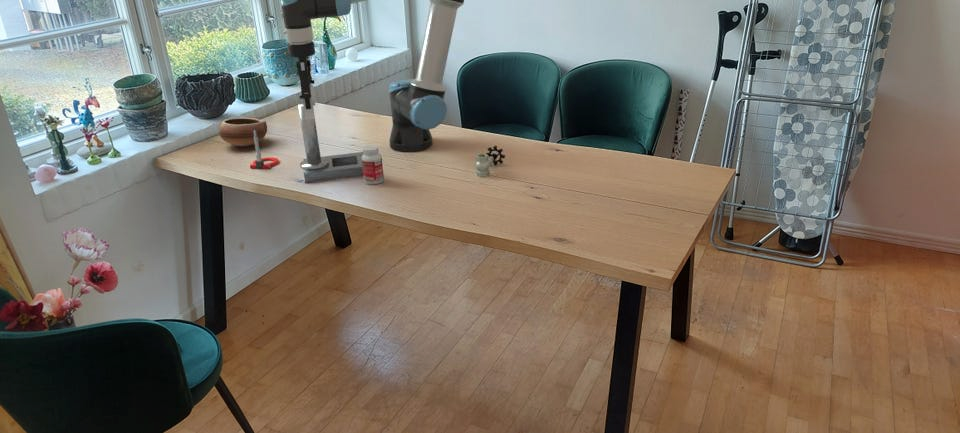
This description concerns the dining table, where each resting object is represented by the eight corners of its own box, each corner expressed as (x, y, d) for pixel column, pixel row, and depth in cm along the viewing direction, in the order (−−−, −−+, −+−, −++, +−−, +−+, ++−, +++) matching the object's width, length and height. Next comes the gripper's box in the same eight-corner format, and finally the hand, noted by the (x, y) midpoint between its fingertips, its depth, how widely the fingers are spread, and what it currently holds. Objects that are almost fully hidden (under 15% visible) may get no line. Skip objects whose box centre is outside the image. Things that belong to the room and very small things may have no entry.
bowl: (276, 141, 251) (272, 115, 247) (242, 155, 239) (237, 128, 235) (248, 136, 259) (243, 110, 255) (213, 148, 247) (208, 122, 243)
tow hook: (260, 160, 235) (247, 169, 227) (254, 123, 230) (241, 131, 222) (283, 160, 234) (271, 169, 226) (277, 124, 229) (265, 131, 221)
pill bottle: (379, 185, 209) (375, 151, 204) (360, 184, 210) (356, 150, 206) (387, 178, 214) (383, 145, 209) (369, 176, 216) (365, 143, 211)
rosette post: (365, 160, 230) (357, 93, 220) (369, 174, 217) (360, 104, 207) (301, 167, 226) (290, 99, 216) (301, 183, 213) (290, 111, 203)
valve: (489, 179, 210) (505, 165, 220) (489, 159, 207) (505, 146, 217) (470, 176, 213) (487, 163, 222) (469, 156, 210) (486, 144, 220)
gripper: (289, 34, 208) (299, 101, 218) (284, 52, 186) (296, 126, 196) (314, 32, 210) (323, 99, 219) (312, 50, 188) (323, 123, 197)
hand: (310, 112), depth 207 cm, fingers open, 13 cm apart
